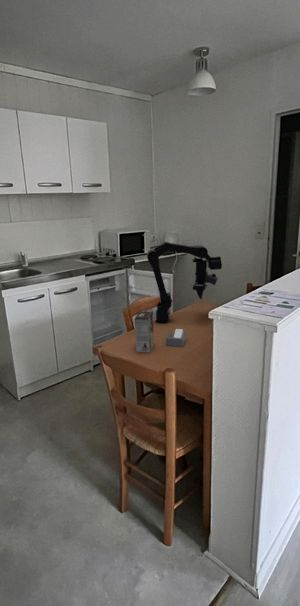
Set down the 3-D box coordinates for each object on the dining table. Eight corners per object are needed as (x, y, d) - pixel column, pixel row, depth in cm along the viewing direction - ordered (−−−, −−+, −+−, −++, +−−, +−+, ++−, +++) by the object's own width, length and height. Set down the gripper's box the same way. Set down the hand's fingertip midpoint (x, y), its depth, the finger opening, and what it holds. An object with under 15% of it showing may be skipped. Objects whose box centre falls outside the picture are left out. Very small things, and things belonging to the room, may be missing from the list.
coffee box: (140, 343, 167) (139, 311, 162) (154, 344, 166) (153, 311, 161) (136, 351, 158) (134, 317, 153) (150, 352, 157) (149, 318, 152)
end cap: (166, 345, 164) (166, 338, 163) (169, 338, 172) (169, 331, 171) (182, 346, 162) (182, 339, 161) (185, 339, 170) (185, 332, 169)
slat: (173, 344, 165) (173, 338, 164) (175, 334, 176) (175, 329, 176) (180, 344, 165) (180, 338, 164) (182, 334, 176) (182, 329, 175)
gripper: (215, 274, 176) (214, 304, 180) (218, 266, 193) (217, 294, 198) (192, 274, 178) (192, 303, 183) (197, 266, 196) (197, 293, 200)
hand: (200, 298), depth 191 cm, fingers closed
